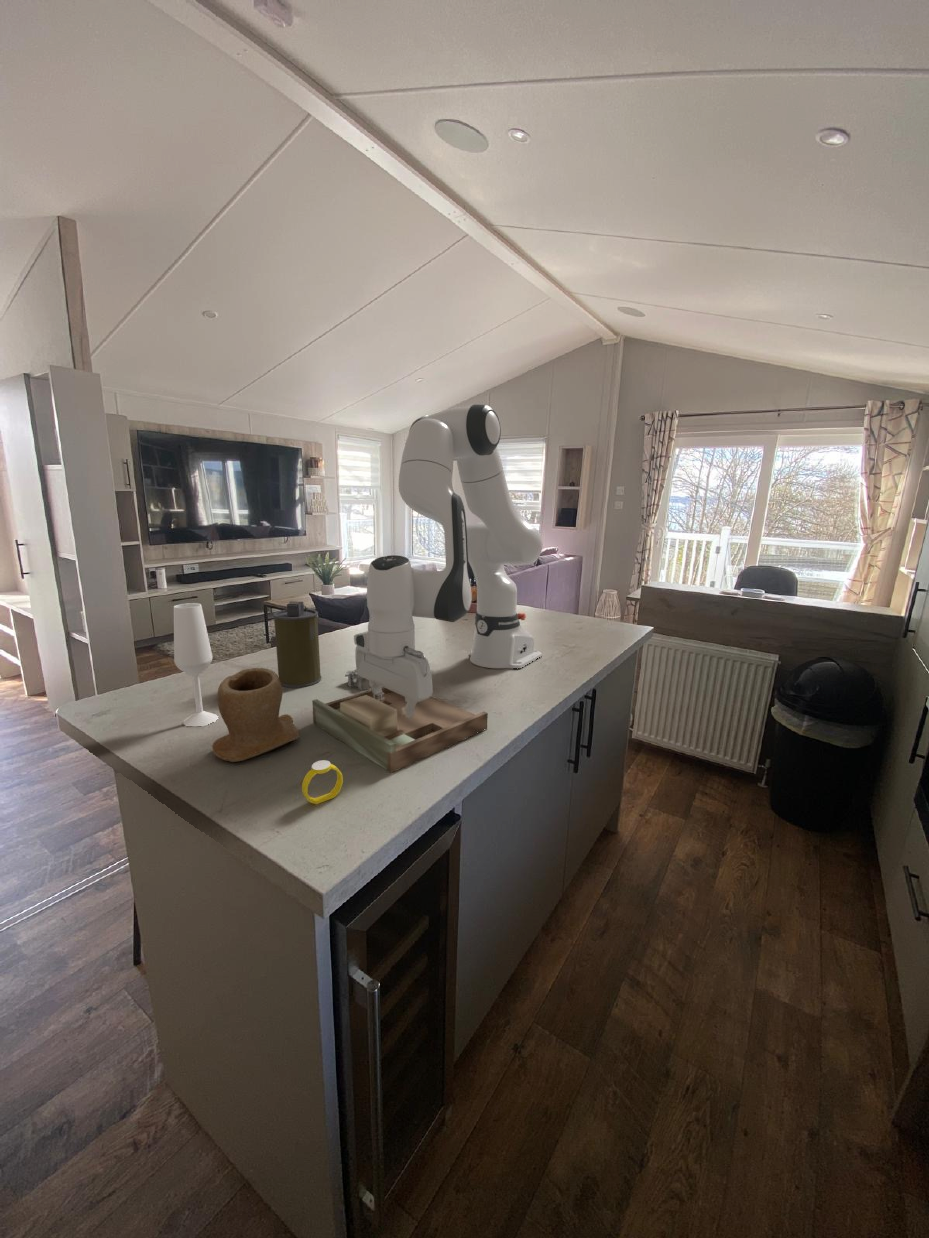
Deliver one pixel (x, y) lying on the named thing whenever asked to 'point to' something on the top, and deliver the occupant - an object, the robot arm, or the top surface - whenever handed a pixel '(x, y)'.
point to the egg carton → (357, 680)
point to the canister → (297, 645)
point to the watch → (321, 768)
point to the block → (371, 714)
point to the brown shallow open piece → (401, 729)
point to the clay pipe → (252, 715)
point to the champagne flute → (192, 654)
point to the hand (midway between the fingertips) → (393, 708)
